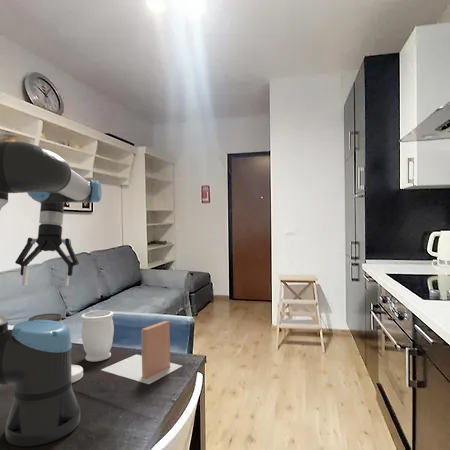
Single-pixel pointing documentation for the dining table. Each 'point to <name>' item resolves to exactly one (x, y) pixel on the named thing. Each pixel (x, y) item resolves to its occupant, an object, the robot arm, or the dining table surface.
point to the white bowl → (76, 373)
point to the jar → (97, 335)
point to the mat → (137, 369)
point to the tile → (155, 348)
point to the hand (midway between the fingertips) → (45, 285)
